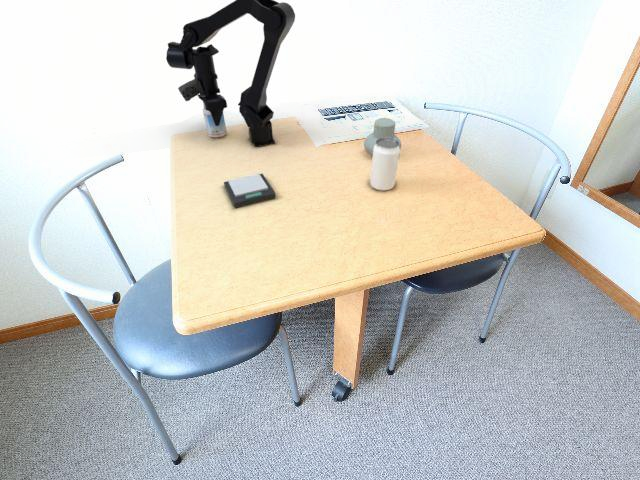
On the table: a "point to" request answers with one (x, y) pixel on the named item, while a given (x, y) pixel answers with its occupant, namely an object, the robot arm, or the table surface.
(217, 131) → the pill bottle
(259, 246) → the table surface
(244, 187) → the scale
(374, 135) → the air freshener
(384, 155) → the can
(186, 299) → the table surface
